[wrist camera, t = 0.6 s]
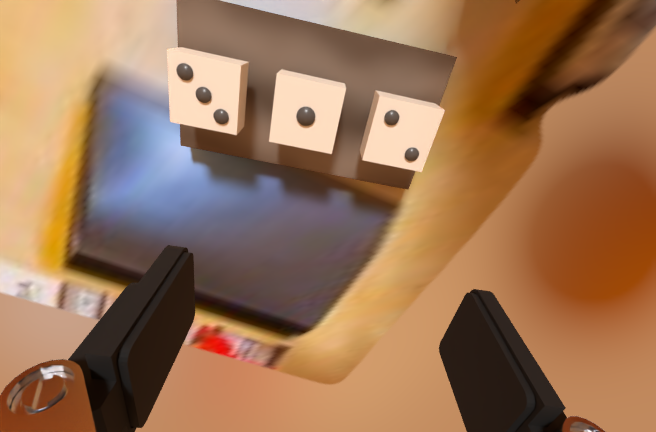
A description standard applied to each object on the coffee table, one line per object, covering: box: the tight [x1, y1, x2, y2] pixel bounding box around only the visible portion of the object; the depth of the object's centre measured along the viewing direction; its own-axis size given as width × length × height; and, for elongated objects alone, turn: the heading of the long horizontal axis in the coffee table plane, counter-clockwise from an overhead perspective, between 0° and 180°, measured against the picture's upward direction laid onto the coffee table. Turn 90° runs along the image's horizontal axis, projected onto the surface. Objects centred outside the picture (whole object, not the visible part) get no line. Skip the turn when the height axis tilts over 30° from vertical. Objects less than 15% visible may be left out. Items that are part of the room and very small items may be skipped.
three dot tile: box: [167, 47, 249, 135], centre depth 24 cm, size 5×5×3 cm
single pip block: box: [269, 69, 346, 154], centre depth 25 cm, size 5×5×3 cm
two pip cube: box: [360, 90, 445, 172], centre depth 26 cm, size 5×5×3 cm
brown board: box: [177, 0, 457, 189], centre depth 29 cm, size 12×22×2 cm, turn 79°
